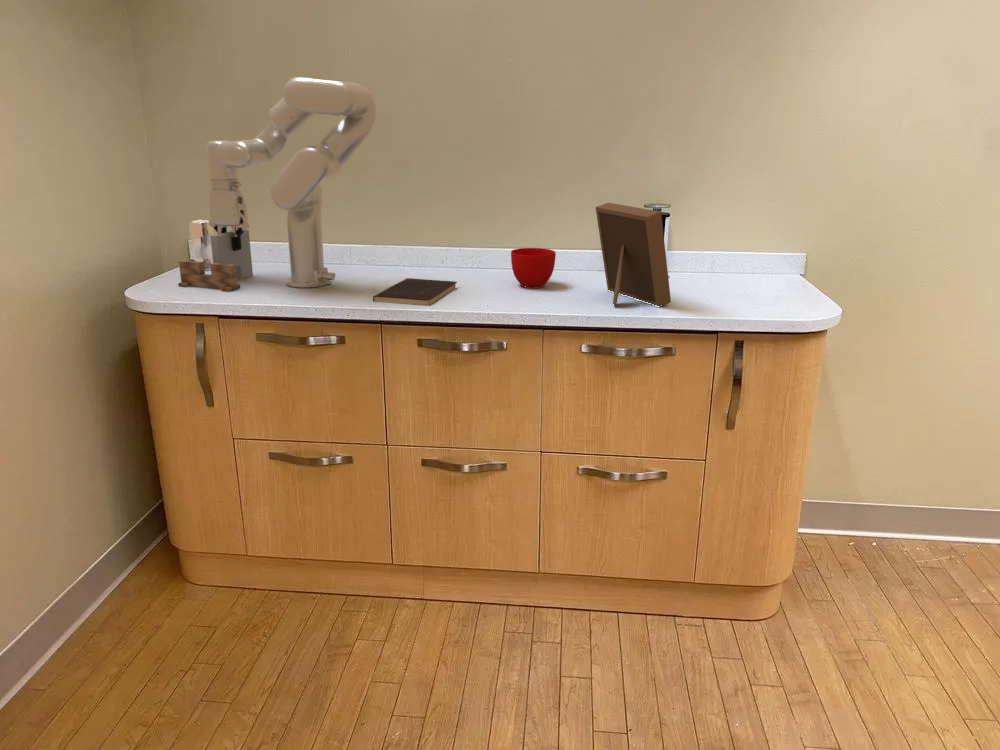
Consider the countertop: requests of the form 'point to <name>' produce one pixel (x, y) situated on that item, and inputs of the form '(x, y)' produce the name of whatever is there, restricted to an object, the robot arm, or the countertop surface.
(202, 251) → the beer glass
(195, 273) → the walnut slotted plate
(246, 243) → the gray square panel
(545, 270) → the ceramic cup
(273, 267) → the countertop surface
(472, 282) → the countertop surface
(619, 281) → the photo frame
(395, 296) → the hardcover book
